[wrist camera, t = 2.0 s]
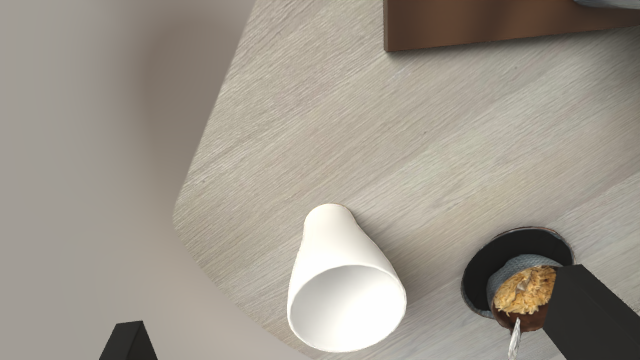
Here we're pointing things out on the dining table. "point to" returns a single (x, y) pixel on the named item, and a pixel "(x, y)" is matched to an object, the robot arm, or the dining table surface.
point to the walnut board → (490, 21)
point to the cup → (342, 285)
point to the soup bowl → (516, 279)
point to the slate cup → (611, 4)
